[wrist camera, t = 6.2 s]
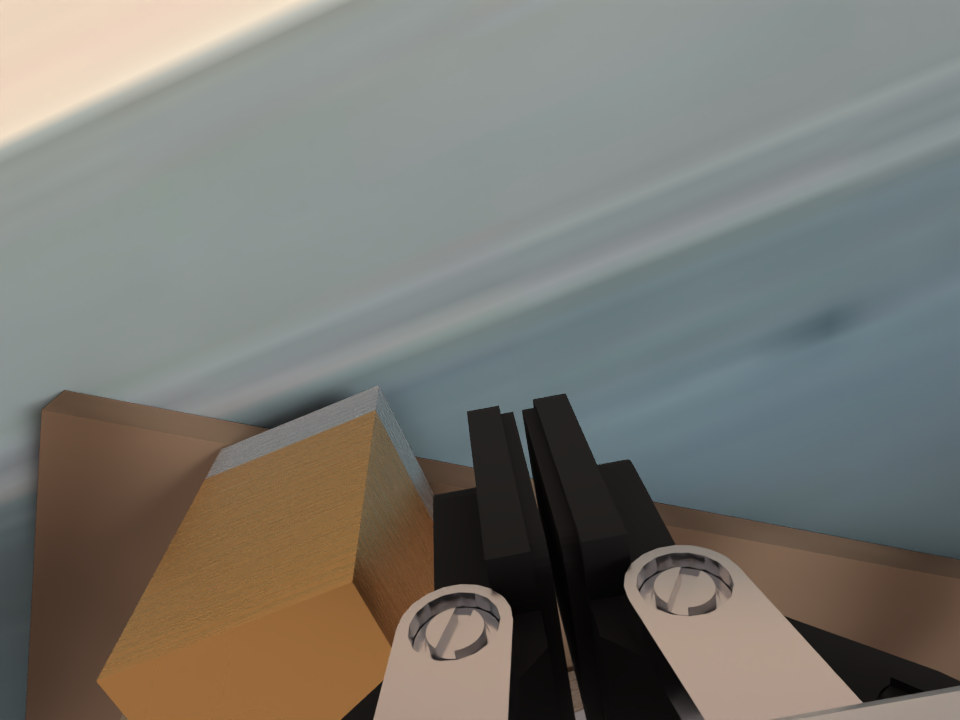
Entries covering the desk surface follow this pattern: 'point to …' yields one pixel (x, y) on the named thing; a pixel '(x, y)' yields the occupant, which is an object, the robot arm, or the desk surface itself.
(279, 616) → the square frame with handle
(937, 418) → the desk surface
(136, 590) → the base board
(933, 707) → the robot arm
